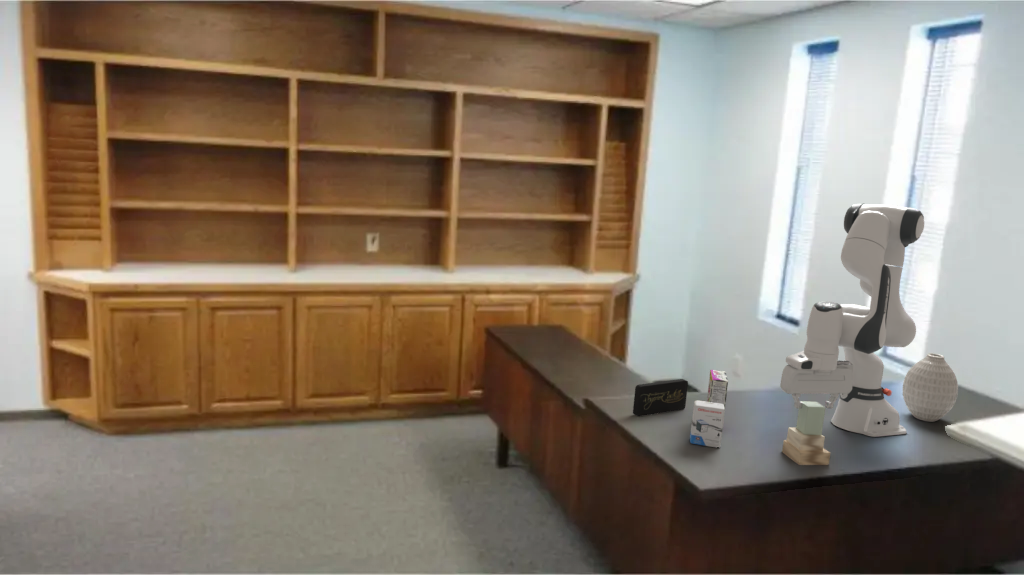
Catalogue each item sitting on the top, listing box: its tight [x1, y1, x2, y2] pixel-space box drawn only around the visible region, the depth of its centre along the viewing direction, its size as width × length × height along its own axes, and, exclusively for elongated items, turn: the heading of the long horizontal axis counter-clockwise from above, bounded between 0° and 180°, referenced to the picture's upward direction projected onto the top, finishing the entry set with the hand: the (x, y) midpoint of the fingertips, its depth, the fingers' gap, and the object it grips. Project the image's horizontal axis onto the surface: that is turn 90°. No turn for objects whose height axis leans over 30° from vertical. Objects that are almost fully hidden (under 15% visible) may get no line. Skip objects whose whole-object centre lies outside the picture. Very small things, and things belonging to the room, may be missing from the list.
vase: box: [902, 352, 959, 423], centre depth 250 cm, size 16×16×22 cm
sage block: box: [795, 400, 826, 435], centre depth 207 cm, size 5×5×8 cm
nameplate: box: [632, 378, 689, 417], centre depth 238 cm, size 21×2×10 cm, turn 121°
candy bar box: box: [706, 369, 729, 408], centre depth 228 cm, size 11×5×16 cm, turn 168°
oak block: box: [781, 439, 831, 466], centre depth 208 cm, size 9×9×4 cm
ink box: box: [689, 399, 726, 449], centre depth 213 cm, size 9×5×12 cm, turn 77°
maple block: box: [786, 426, 826, 451], centre depth 208 cm, size 7×7×4 cm
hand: (813, 407), depth 207 cm, fingers open, 8 cm apart
